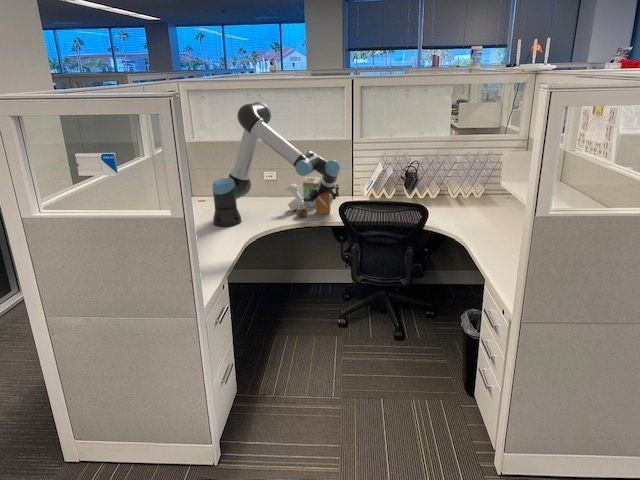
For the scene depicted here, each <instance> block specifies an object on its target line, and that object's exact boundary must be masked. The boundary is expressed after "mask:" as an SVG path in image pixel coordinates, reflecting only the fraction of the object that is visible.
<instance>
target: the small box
mask: <svg viewBox="0 0 640 480" xmlns="http://www.w3.org/2000/svg"><path fill="white" fill-rule="evenodd" d="M330 196H331V194H330V193H329V192H325V193H323V194H321V195H319V196H318V197H317V198H316V207H315V214H316V215H330V214H331V210H332V209H331V207H332V204H331V200H330Z"/></svg>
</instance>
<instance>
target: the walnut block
mask: <svg viewBox="0 0 640 480" xmlns="http://www.w3.org/2000/svg"><path fill="white" fill-rule="evenodd" d="M303 206H304V205H303ZM303 206H302V207H300V206H299V207H297V208H296V216H297V218H298V219H304V218H305V219H307V218H308V207H305V206H304V207H303Z"/></svg>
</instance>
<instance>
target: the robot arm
mask: <svg viewBox="0 0 640 480" xmlns="http://www.w3.org/2000/svg"><path fill="white" fill-rule="evenodd" d="M236 116H237V120H238V121H237V122H238V123H239V125H240V126H241V127H242V128H243V133H242V135H241V136H242V137H241V140H240V144H239V148H238V152H237V155H236V159H235V163H234V167H233V169H232V170H230V171H229V175H228V177H221V178H219V179H216V180H214V181H213V183H212V193H213V194H212V195H213V203H214V213H213V218H212V224H213V225H214V226H216V227H233V226H237V225H239V224H241V223H242V216H241V214H240V211H239V209H238V206H237V204H238V203H237V199H240V198H242V197H244V196H246V195H247V194H248V193H249V192H250V190H251V188H252V182H251V175H250V171H251V169H252V168H251V167H252V164H253V160H254V156H255V153H256V151H257V146H258V144H259V143H258V142H259V140H261V142H263V143H264V144H266V146H267V147H269V148H270V149H272V151H274V152H276V154H278V155H279V156H280V157H282V158H283V159H284V160H285V161H286V162H288V163H289V164H290V165H291V166H293V167H294V170H295V171H296V174H298V175H299V176H301V177H304V176H308V175H310V174H311V173H313V172H317V173H318V174H321V175H322V176H321V178H322V180H321V183H320V186H319V187H317V188H316V186H315V187H314V189H313V190H312V192H311V193H310V195H309V198H310V200H311V201H312V203H313V206H314V205H315V201H316V198H317V197H318V196H319V195H321V194H323V193H325V192H329V193H330V200H331V205H332V204H333V201H335V200H336V197H337V198H339V197H340V195H339V194H340V193H339V190H340V187H339V184H336V182H337V180H338V179H337V178H338V175H339V174H340V169H341V165H340V163H339V161H337V160H334V159H330V160H327V159H325V158H324V157H322V156H320V155H319V154H318V153H316V152H314V151H312V150H308V151H307V152H306V153H305V154H303V152H301V150H298V149H297V148H296V147H295V146H294V145H292V144H291V142H289V141H287V140H286V139H285V138H284V137H283V136H281V135H280V134H279V133H278V132H276V130H274V129H273V128H272V127H270V126H269V125H268V124H269V122H270V121H271V120H272V119H271V118H272V111H271V109H270V107H269V106H268V105H267V104H266V103H264V102H261V101H255V102H253V103H246V104H244V105H241V107H239V109H238V111H237V115H236ZM334 190H335V192H334Z"/></svg>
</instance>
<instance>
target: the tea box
mask: <svg viewBox="0 0 640 480" xmlns="http://www.w3.org/2000/svg"><path fill="white" fill-rule="evenodd" d="M321 180H322V177H307V178H306V179H305V180H304V181H303V183H302V193H303V194H302V196H303V197H302V198H303V200H302V202H303V203H302V205H303V206H305V207H306V208H316V201H315V205H314V206H313V203H312V201H311V200H310V198H309V195H310V193H311V192H312V190H313V189H314V187H315V186H316V188H317V187H319V186H320V183H321Z"/></svg>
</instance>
